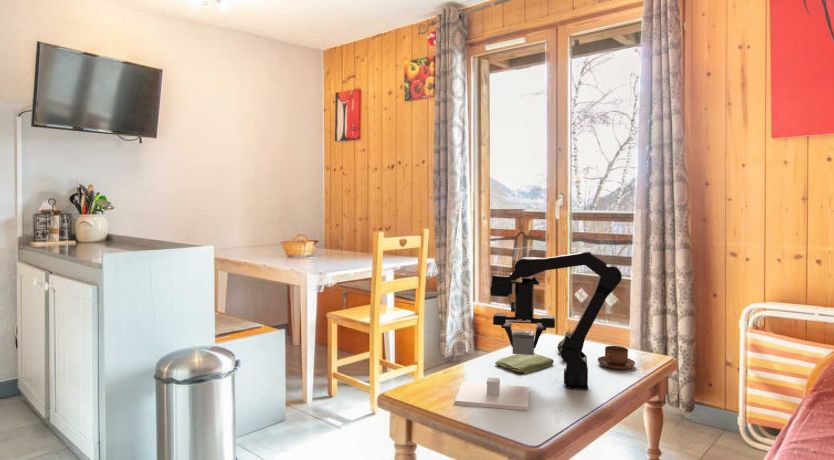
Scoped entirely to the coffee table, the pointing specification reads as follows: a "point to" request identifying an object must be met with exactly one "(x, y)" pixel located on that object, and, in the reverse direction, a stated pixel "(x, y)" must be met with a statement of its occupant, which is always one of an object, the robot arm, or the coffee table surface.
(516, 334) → the dark grey framed cube
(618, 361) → the cup and saucer
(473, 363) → the coffee table surface
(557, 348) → the bolt
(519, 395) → the post plate
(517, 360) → the washcloth
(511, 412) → the coffee table surface
